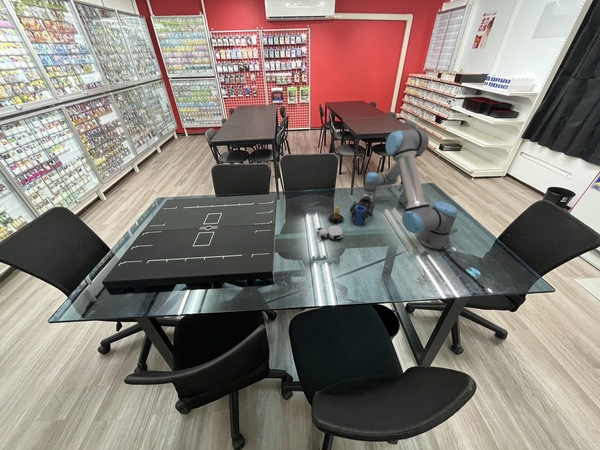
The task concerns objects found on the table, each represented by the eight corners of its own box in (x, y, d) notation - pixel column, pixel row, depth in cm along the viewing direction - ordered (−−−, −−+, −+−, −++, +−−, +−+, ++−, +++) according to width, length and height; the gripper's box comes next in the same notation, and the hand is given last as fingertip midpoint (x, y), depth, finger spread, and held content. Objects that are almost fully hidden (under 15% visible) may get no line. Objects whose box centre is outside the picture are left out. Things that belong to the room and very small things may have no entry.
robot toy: (318, 244, 139) (344, 241, 139) (317, 238, 136) (344, 235, 136) (315, 231, 149) (340, 229, 149) (315, 225, 146) (340, 222, 147)
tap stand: (343, 224, 154) (344, 210, 149) (328, 223, 155) (329, 209, 150) (342, 216, 162) (344, 203, 156) (329, 215, 162) (329, 202, 157)
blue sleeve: (364, 225, 152) (366, 211, 147) (354, 224, 153) (355, 210, 147) (363, 219, 157) (365, 205, 152) (353, 219, 158) (355, 205, 152)
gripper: (379, 208, 164) (373, 226, 147) (351, 203, 171) (341, 219, 153) (382, 198, 160) (375, 216, 142) (352, 193, 166) (342, 209, 149)
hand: (358, 217), depth 148 cm, fingers closed on blue sleeve, 6 cm apart
